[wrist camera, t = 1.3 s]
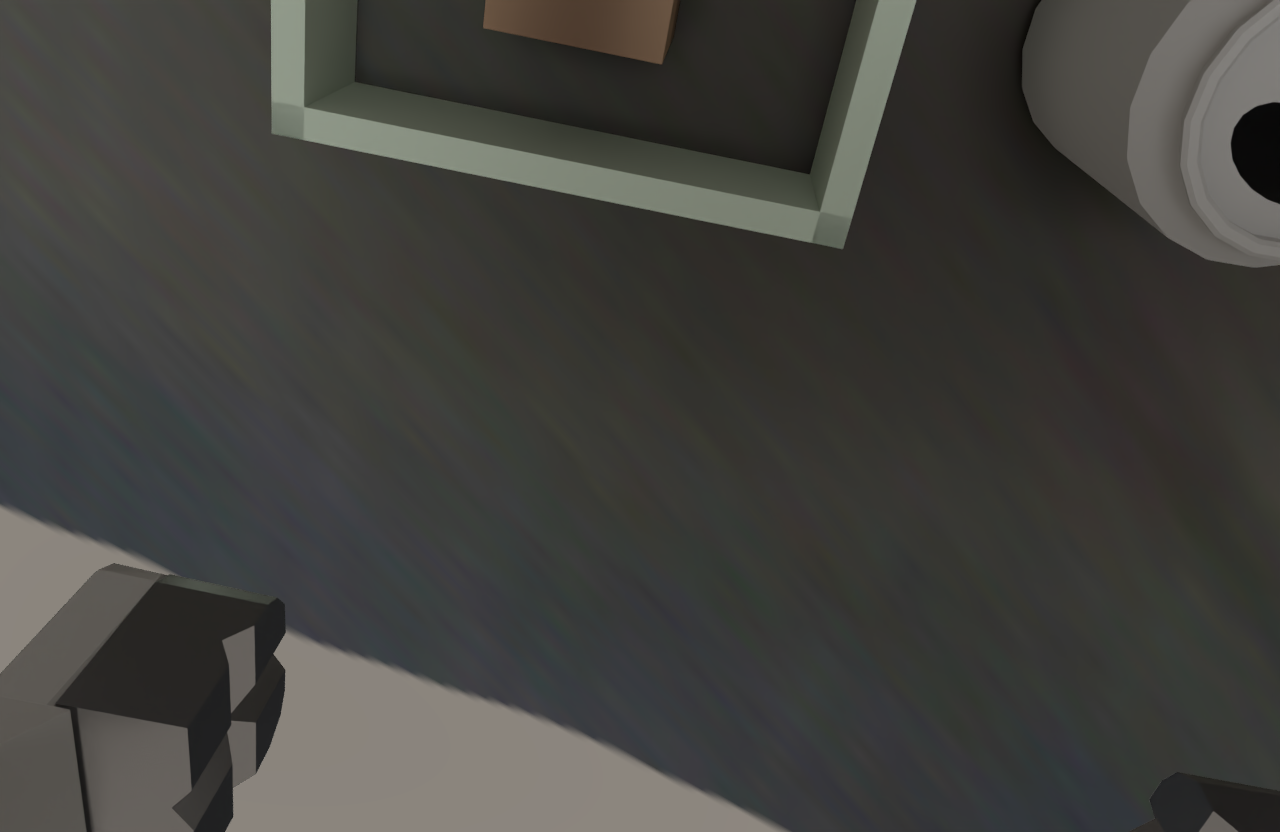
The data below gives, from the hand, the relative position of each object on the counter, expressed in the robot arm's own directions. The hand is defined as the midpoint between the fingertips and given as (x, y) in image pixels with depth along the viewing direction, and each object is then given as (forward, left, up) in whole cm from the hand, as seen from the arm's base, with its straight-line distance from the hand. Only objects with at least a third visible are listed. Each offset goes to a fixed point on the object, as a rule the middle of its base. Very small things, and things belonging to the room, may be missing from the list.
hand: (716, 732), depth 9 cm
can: (-12, -5, -28) cm, 31 cm away
